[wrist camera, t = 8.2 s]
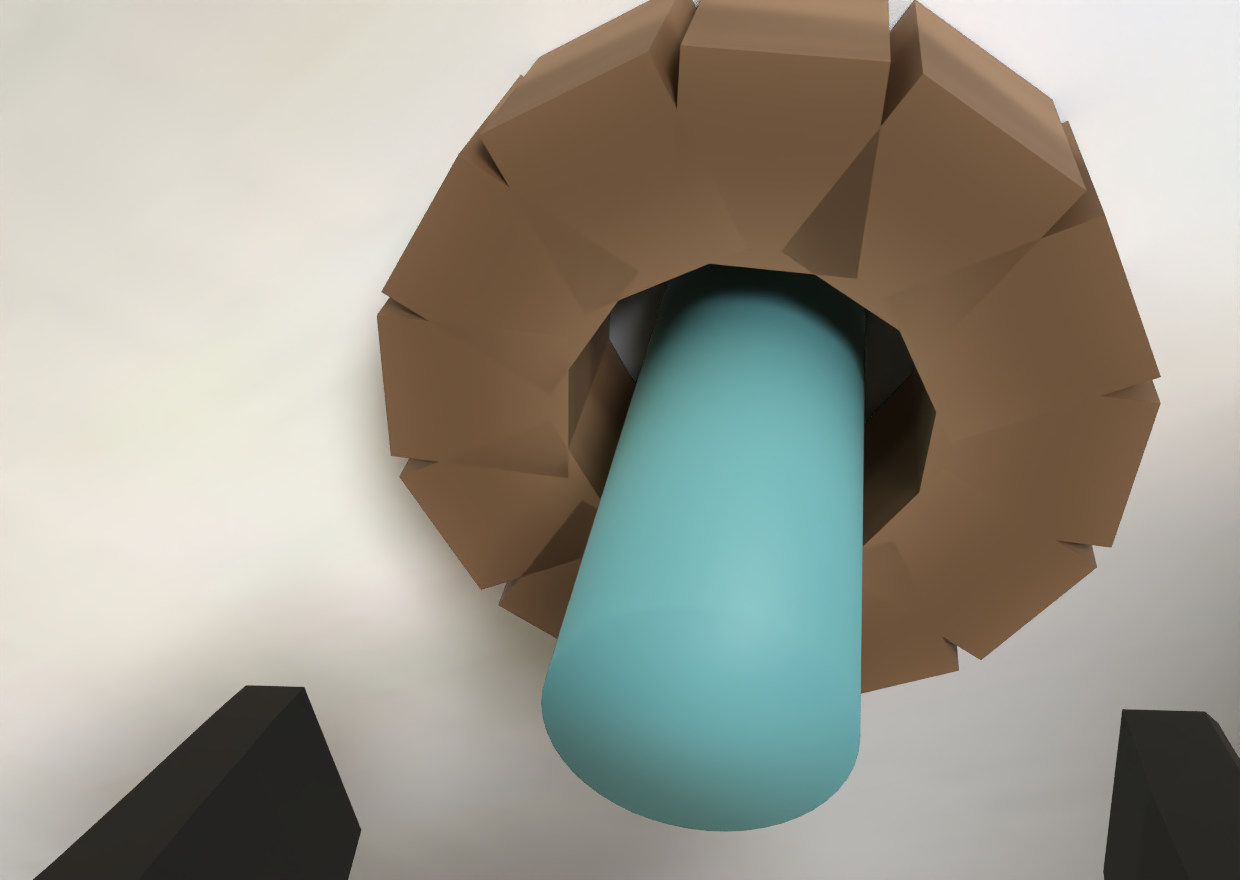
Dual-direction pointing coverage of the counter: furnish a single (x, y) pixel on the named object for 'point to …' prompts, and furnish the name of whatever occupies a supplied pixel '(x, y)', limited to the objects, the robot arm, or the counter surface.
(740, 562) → the capsule peg
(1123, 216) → the counter surface
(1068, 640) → the counter surface
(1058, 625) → the counter surface
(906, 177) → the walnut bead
